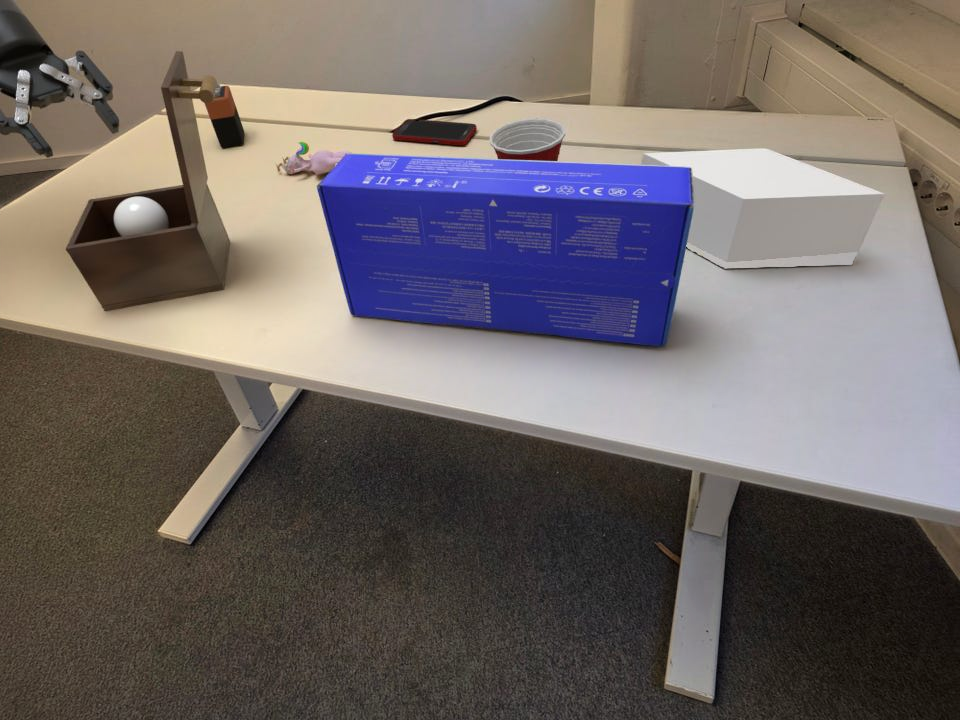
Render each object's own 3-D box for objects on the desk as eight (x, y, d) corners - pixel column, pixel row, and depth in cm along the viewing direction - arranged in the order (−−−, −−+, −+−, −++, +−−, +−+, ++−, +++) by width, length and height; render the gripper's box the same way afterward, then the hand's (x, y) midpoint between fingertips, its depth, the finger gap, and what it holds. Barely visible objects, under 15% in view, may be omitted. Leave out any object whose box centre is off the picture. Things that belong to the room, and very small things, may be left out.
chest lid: (160, 87, 64) (206, 88, 66) (175, 50, 73) (216, 52, 75) (191, 223, 75) (231, 223, 76) (201, 177, 84) (236, 178, 85)
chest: (104, 311, 81) (65, 249, 74) (122, 259, 90) (88, 199, 83) (224, 289, 83) (196, 226, 76) (230, 240, 91) (206, 180, 85)
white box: (648, 196, 94) (658, 131, 86) (857, 237, 83) (888, 166, 76) (617, 245, 85) (625, 177, 77) (846, 297, 74) (880, 224, 67)
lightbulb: (156, 289, 82) (117, 218, 74) (135, 271, 85) (95, 202, 78) (198, 266, 85) (164, 196, 78) (177, 251, 89) (142, 182, 81)
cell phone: (407, 123, 119) (406, 118, 118) (478, 128, 115) (477, 123, 114) (391, 140, 113) (390, 135, 113) (465, 146, 110) (464, 141, 109)
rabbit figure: (277, 185, 106) (352, 178, 101) (262, 153, 102) (339, 144, 97) (294, 169, 110) (366, 161, 105) (280, 137, 106) (354, 128, 102)
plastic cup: (499, 188, 98) (496, 114, 90) (566, 191, 96) (569, 116, 88) (486, 224, 91) (481, 147, 82) (558, 228, 89) (561, 150, 80)
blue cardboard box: (666, 305, 75) (694, 164, 62) (665, 351, 69) (696, 206, 56) (371, 278, 82) (342, 147, 70) (348, 317, 77) (312, 183, 64)
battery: (221, 149, 115) (201, 96, 108) (222, 135, 120) (203, 83, 113) (244, 145, 116) (226, 92, 109) (244, 131, 121) (227, 79, 114)
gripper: (-76, 24, 68) (22, 147, 71) (52, -6, 76) (137, 106, 78) (-59, 65, 75) (30, 177, 77) (58, 34, 82) (136, 137, 84)
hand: (84, 141), depth 77 cm, fingers open, 8 cm apart
